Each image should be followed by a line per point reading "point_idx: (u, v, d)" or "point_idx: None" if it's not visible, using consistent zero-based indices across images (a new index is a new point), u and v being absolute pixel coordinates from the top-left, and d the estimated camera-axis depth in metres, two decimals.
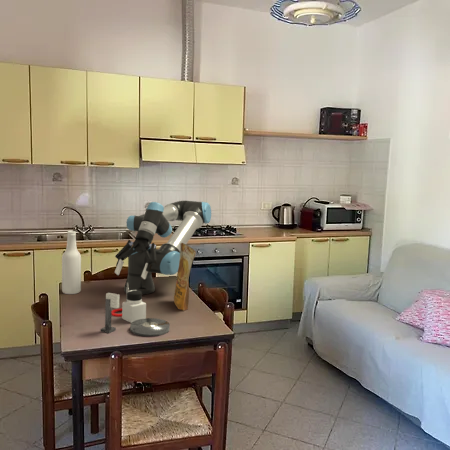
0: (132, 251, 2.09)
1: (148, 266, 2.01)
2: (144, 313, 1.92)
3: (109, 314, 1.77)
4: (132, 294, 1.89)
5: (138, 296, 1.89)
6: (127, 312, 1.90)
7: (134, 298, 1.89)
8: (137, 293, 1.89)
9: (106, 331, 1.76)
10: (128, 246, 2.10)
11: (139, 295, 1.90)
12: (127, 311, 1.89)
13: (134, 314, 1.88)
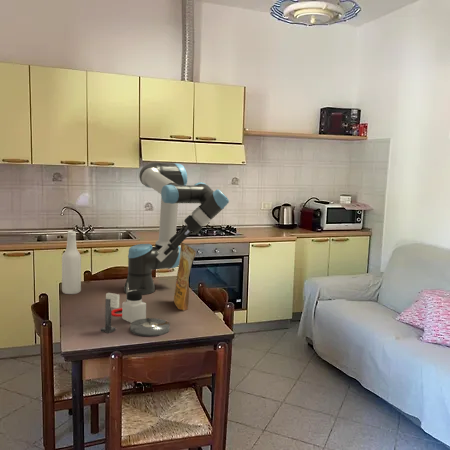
0: None
1: None
2: (144, 313, 1.92)
3: (109, 314, 1.77)
4: (132, 294, 1.89)
5: (138, 296, 1.89)
6: (127, 312, 1.90)
7: (134, 298, 1.89)
8: (137, 293, 1.89)
9: (106, 331, 1.76)
10: None
11: (139, 295, 1.90)
12: (127, 311, 1.89)
13: (134, 314, 1.88)
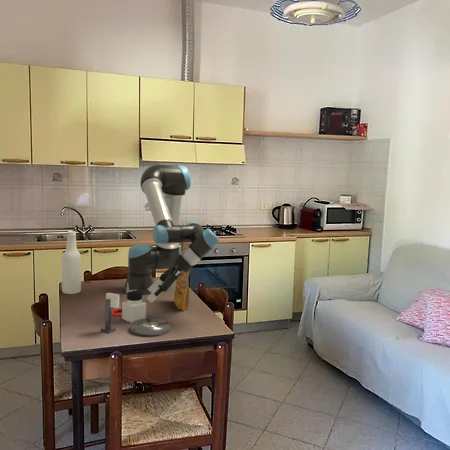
0: None
1: None
2: (144, 313, 1.92)
3: (109, 314, 1.77)
4: (132, 294, 1.89)
5: (138, 296, 1.89)
6: (127, 312, 1.90)
7: (134, 298, 1.89)
8: (137, 293, 1.89)
9: (106, 331, 1.76)
10: None
11: (139, 295, 1.90)
12: (127, 311, 1.89)
13: (134, 314, 1.88)
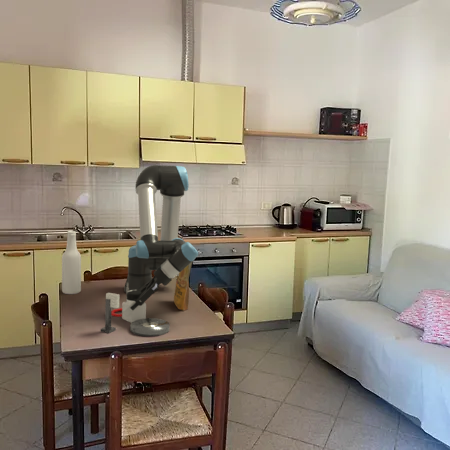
0: None
1: None
2: (144, 313, 1.92)
3: (109, 314, 1.77)
4: (132, 294, 1.89)
5: (137, 296, 1.89)
6: None
7: (134, 298, 1.89)
8: (137, 293, 1.89)
9: (106, 331, 1.76)
10: None
11: (139, 295, 1.90)
12: None
13: (134, 313, 1.88)
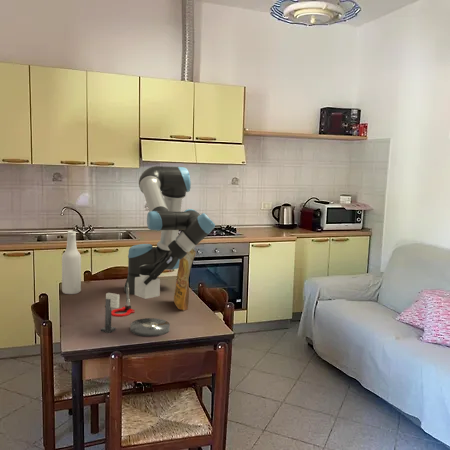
0: None
1: None
2: (158, 289, 1.81)
3: (109, 314, 1.77)
4: (145, 268, 1.78)
5: (151, 270, 1.78)
6: None
7: (147, 272, 1.78)
8: (151, 267, 1.78)
9: (106, 331, 1.76)
10: None
11: (153, 269, 1.79)
12: None
13: (147, 289, 1.77)
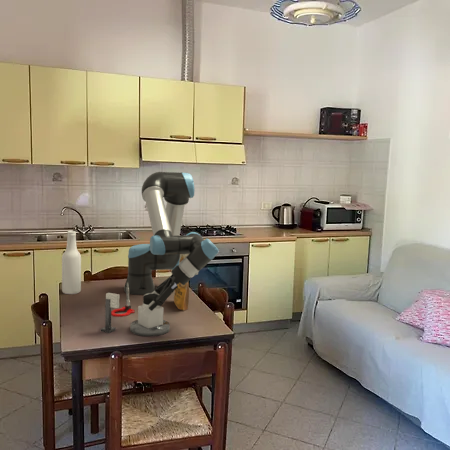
0: None
1: None
2: (161, 318, 1.80)
3: (109, 314, 1.77)
4: (149, 298, 1.77)
5: None
6: (143, 317, 1.78)
7: None
8: (154, 297, 1.78)
9: (106, 331, 1.76)
10: None
11: None
12: (143, 315, 1.78)
13: (151, 319, 1.77)
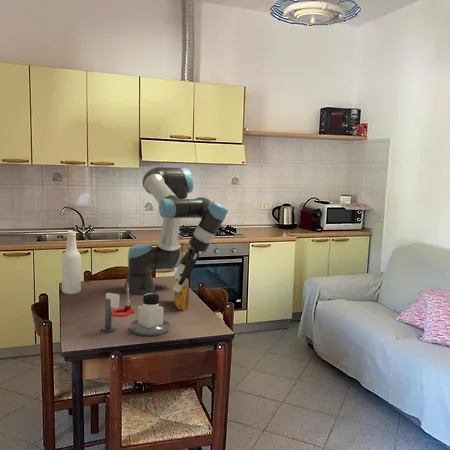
0: None
1: None
2: (161, 318, 1.81)
3: (109, 314, 1.77)
4: (149, 298, 1.77)
5: (155, 300, 1.78)
6: (143, 317, 1.78)
7: (151, 302, 1.77)
8: (154, 297, 1.78)
9: (106, 331, 1.76)
10: None
11: (156, 299, 1.78)
12: (143, 315, 1.78)
13: (151, 318, 1.77)
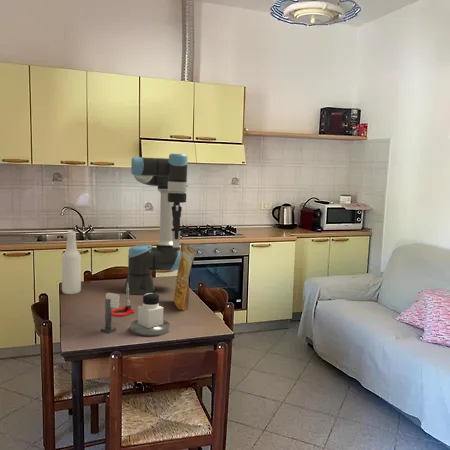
0: None
1: None
2: (161, 318, 1.81)
3: (109, 314, 1.77)
4: (149, 297, 1.77)
5: (155, 299, 1.78)
6: (143, 317, 1.78)
7: (151, 302, 1.78)
8: (154, 297, 1.78)
9: (106, 331, 1.76)
10: None
11: (156, 299, 1.78)
12: (143, 315, 1.78)
13: (151, 318, 1.77)
